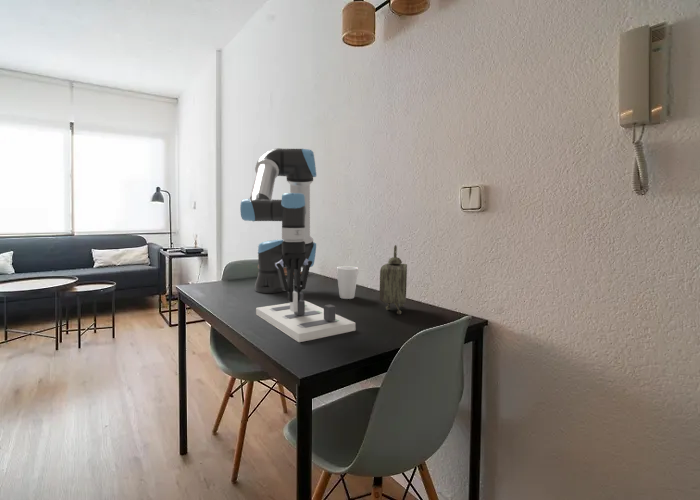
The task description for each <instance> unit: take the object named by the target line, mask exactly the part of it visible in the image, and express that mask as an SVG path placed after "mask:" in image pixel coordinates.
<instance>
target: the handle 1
mask: <svg viewBox="0 0 700 500" xmlns="http://www.w3.org/2000/svg"><path fill="white" fill-rule="evenodd" d="M300 300H303V301H304V293H303V292H302V291H301V292H300Z"/></svg>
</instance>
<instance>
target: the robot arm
mask: <svg viewBox="0 0 700 500" xmlns="http://www.w3.org/2000/svg"><path fill="white" fill-rule="evenodd" d="M314 153H315V152H314V151H313V150H312V149H309V148H308V149H307V148H279V147H278V148H273V149H270V150H268V151H266V152H264V153H263V154H262V155H261V156H260V157H259V159H258V160H257V161H256V163H255V164H256V165H255V167H254V170H255V178H254V181H253V185H252V189H251V193H250V196H249V198H245V199H244V198H243V199H242V200H241V202H240V212H239V213H240V217H241V219H242V221H247V222H251V221H252V222H281V239H273V240H267V241H262V242H260V243H259V244H258V246H257V247H258V250H257V251H258V252H257V254H258V255H257V257H258V259H257V260H258V262H257V263H258V264H257V269H258V271H259V272H258V274H257V278H256V280H255V284H254V291H255V292H258V293H261V294H262V293H264V294H276V293H283V292H287V301H288V303H290V311H292V312H298V301H299V300H300V292H302V290H305V289H306V286H307V282H308V277H309V273H310V269H311V268H312V267H313V266H314V265H315V259H316V251H317V243H316V242H314V238H313V237H312V236H311V201H310V200H311V184H312V183H313V182H314V178H316V177H317V167H316V161H315V154H314ZM277 177H286V182H287V183H288V184H289V189H290V190H289V192H284V193H283V194H282V195H281V199H272V197H273V192H274V187H275V181H276V179H277ZM284 268H286V271H287V276H285V273H284ZM293 272H294V275H293ZM300 272H302V274H300Z"/></svg>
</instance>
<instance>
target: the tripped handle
mask: <svg viewBox="0 0 700 500" xmlns="http://www.w3.org/2000/svg"><path fill="white" fill-rule="evenodd" d="M305 301H306V300H304V299H303V300H299V301H298V312H294V314H296V315H304V314H305Z"/></svg>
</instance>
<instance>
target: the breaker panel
mask: <svg viewBox="0 0 700 500" xmlns="http://www.w3.org/2000/svg"><path fill="white" fill-rule="evenodd" d="M304 301H305V314H304V315H296V314H294V312H292V311H290V302H287V303H280V304H272V305H266V306H265V305H264V306H260V307H256V308H255V314H256V316H258V317H259V318H261V319H262V320H264V321H265V322H267V323H268V324H270V325H271V326H273V327H274V328H277V329H278V330H279V331H281V332H283V334H285V335H286V336H288V337H290V338H291V339H293V340H295V341H296V342H297V343H301V342H306V341H312V340H317V339H322V338H326V337H332V336H336V335H341V334H345V333H346V334H347V333H350V332H355V331H356V322H354V321H353V320H351V319H349V318H346V317H344V316H341V315H340V314H336V313H335V320H333V321H327V320H325V319H324V307H321V306H318V305H316V304H314V303H312V302H309V301H307V300H304Z"/></svg>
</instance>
